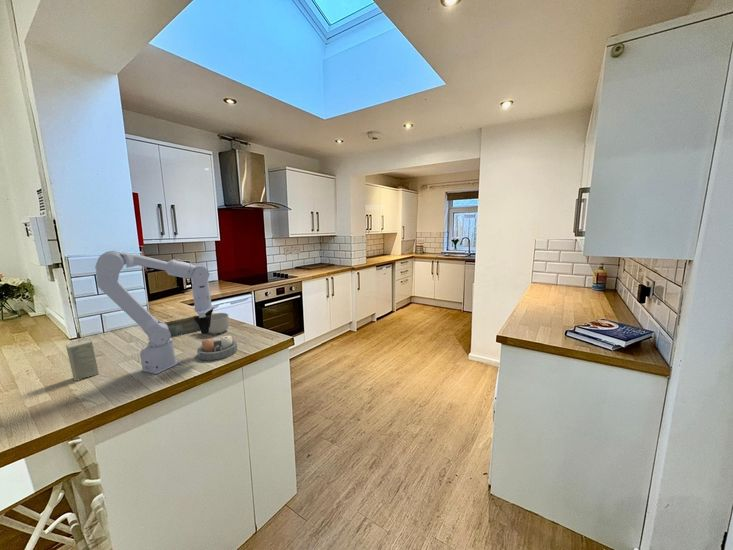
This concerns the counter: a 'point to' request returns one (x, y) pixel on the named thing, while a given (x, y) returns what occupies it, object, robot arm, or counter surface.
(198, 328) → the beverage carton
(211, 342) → the bead terracotta
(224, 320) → the teacup
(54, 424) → the counter surface
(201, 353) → the groove tray
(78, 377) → the skincare box
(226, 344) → the bead cream
